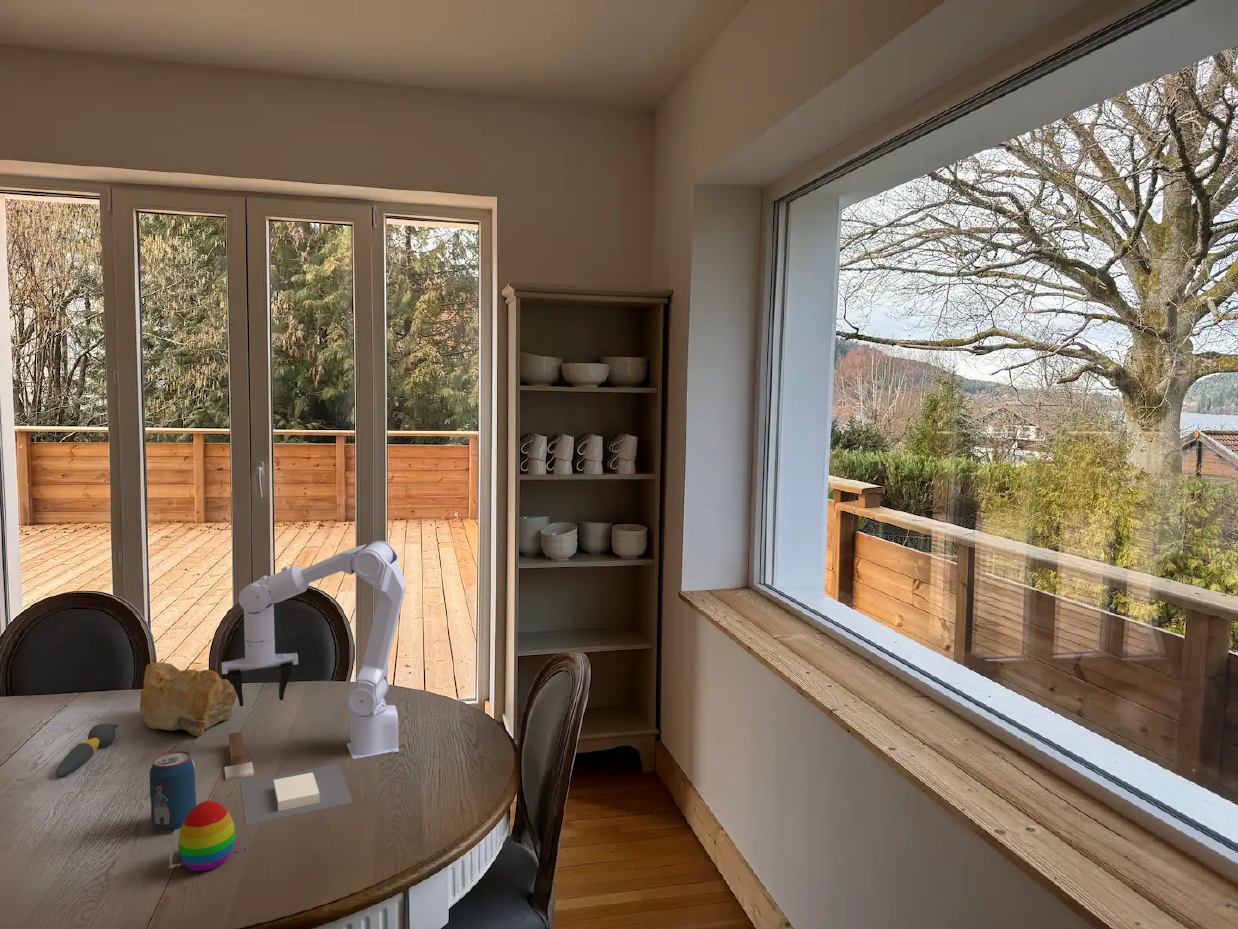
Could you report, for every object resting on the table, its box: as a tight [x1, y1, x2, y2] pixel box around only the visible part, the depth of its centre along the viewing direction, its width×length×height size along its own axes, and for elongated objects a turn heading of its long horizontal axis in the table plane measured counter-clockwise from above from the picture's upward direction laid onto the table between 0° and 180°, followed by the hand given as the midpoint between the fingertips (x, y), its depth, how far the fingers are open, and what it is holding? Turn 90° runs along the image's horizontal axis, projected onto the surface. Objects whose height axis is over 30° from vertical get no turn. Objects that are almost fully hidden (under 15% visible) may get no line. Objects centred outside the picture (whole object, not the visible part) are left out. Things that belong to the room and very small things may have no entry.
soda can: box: [148, 750, 197, 834], centre depth 142 cm, size 7×7×12 cm
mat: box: [240, 763, 354, 826], centre depth 154 cm, size 18×17×1 cm
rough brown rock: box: [139, 661, 237, 737], centre depth 184 cm, size 23×16×15 cm
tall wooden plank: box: [224, 731, 255, 781], centre depth 166 cm, size 5×17×3 cm, turn 28°
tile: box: [274, 772, 319, 811], centre depth 152 cm, size 7×2×9 cm
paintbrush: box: [55, 722, 120, 778], centre depth 167 cm, size 20×5×5 cm, turn 8°
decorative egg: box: [177, 800, 236, 872], centre depth 132 cm, size 8×8×10 cm
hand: (261, 701), depth 171 cm, fingers open, 7 cm apart
